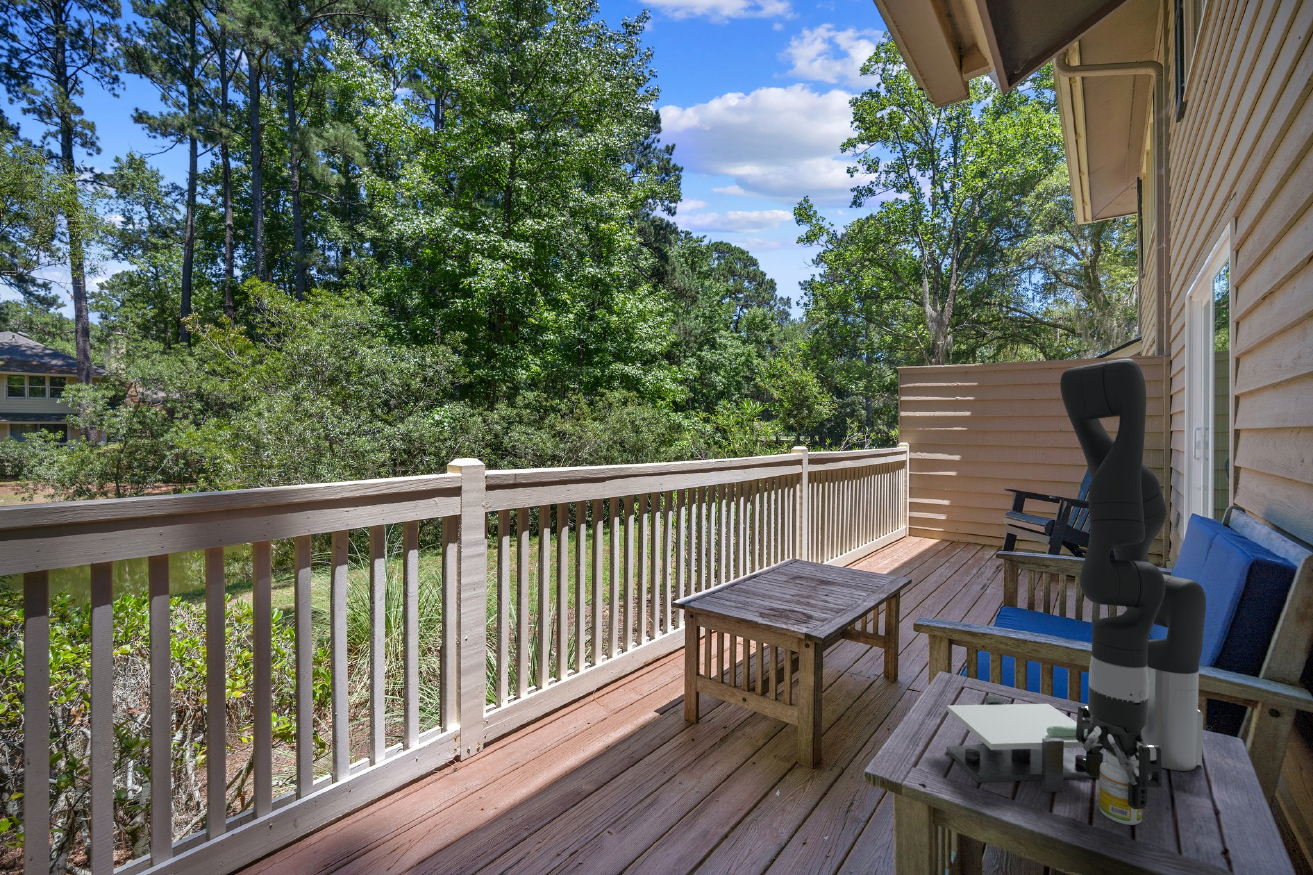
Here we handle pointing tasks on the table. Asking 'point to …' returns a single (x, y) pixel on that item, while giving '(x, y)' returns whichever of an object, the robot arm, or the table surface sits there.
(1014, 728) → the levelling plate
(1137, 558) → the robot arm
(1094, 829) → the table surface
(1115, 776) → the supplement bottle
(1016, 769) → the base
